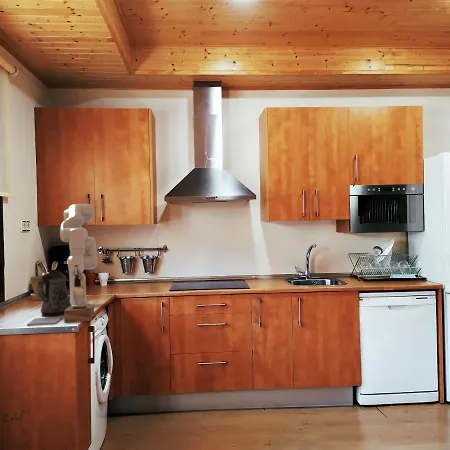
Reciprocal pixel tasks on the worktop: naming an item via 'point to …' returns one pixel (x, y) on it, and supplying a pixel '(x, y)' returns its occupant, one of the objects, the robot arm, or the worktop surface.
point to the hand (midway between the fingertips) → (78, 285)
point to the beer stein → (53, 294)
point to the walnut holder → (79, 313)
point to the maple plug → (79, 289)
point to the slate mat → (44, 321)
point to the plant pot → (34, 284)
